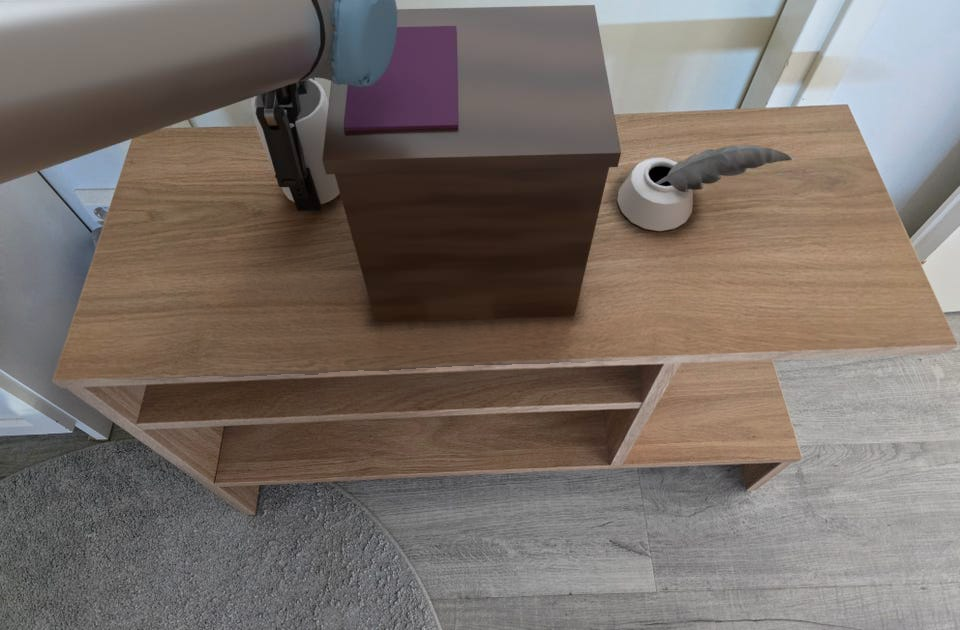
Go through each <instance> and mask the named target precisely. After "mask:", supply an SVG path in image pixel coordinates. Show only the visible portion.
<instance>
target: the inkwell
mask: <svg viewBox="0 0 960 630" xmlns="http://www.w3.org/2000/svg"><path fill="white" fill-rule="evenodd" d="M792 160H793V158H792V157H791V156H790V155H788V154H787V153H785V152H783V151H779V150H777V149H774V148H771V147H768V146H760V145H753V144H744V145H728V146H722V147H718V148H716V149H706V150H704V151H702V152H700V153H698V154H692V155H690V156H689V157H687V158H686V159H684V160H683V161H681V160H680V161H678V162H677V161H675V160H672V159H670V158H666V157H652V158H646V159H644V160H642V161H640V162H639V163H637V164H636V165H635V166H634V167H633V169H632V170H631V172H630V173H629V175H628V176H627V177H626V178H625V180H624V182H623V183H622V184H621V186H620V187H619V189H618V192H617V199H616V201H617V204H618V207H619V210H620V211H621V213H622V214H623V215H624V217H625V218H627V220H628V221H629V222H630V223H631V224H634V225H636V226H637V227H640V228H642V229H644V230H649V231H655V232H663V231H670V230H675V229H676V228H678V227H680V226H682V225H683V224H685V223H687V221H688V219H689V218H690V217H691V215H692V213H693V205H694V204H693V203H694V191H697V190H700V191H701V190H702V189H703V188H704V184H707V185H709V184H715V183H717V182H718V181H720V180H721V179H722V176H723V177H733V176H739V175H741V174H744V173H746V172H747V169H756V168H759V167H762V166H765V165H766V164H773V163H778V162H787V161H788V162H789V161H792Z"/></svg>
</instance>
